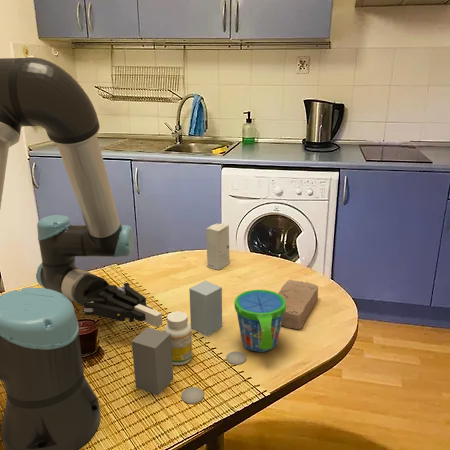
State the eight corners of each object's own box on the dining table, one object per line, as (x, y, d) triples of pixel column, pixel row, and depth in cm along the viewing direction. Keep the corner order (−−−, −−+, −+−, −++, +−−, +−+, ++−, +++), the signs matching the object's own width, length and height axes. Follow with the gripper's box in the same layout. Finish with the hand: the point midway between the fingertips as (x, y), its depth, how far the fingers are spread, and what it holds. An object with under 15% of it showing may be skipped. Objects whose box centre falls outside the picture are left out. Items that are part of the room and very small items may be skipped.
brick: (287, 292, 119) (287, 276, 117) (319, 299, 115) (320, 282, 114) (264, 324, 105) (264, 306, 103) (299, 333, 101) (300, 314, 100)
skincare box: (219, 270, 131) (218, 231, 127) (206, 267, 133) (205, 228, 129) (230, 263, 136) (230, 224, 132) (217, 259, 138) (217, 222, 134)
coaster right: (238, 367, 90) (238, 366, 90) (222, 359, 92) (222, 358, 92) (249, 357, 93) (249, 355, 93) (233, 350, 95) (233, 349, 95)
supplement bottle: (190, 366, 90) (189, 324, 87) (163, 365, 90) (161, 323, 87) (193, 350, 95) (192, 309, 92) (168, 349, 95) (165, 309, 92)
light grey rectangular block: (207, 336, 100) (205, 295, 96) (190, 328, 103) (189, 288, 100) (222, 326, 103) (221, 287, 100) (206, 319, 107) (205, 280, 103)
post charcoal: (158, 395, 82) (154, 348, 79) (135, 387, 84) (131, 341, 81) (173, 379, 87) (170, 333, 83) (151, 371, 89) (148, 327, 85)
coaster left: (194, 407, 79) (193, 405, 79) (176, 397, 82) (176, 396, 82) (208, 394, 82) (208, 392, 82) (191, 385, 85) (191, 384, 85)
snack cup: (234, 323, 105) (234, 283, 101) (280, 323, 105) (281, 283, 101) (234, 366, 90) (234, 321, 87) (288, 366, 90) (290, 321, 86)
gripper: (109, 292, 113) (181, 322, 100) (64, 315, 104) (137, 351, 90) (106, 265, 111) (179, 291, 98) (60, 285, 101) (134, 318, 88)
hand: (159, 320), depth 94 cm, fingers closed
